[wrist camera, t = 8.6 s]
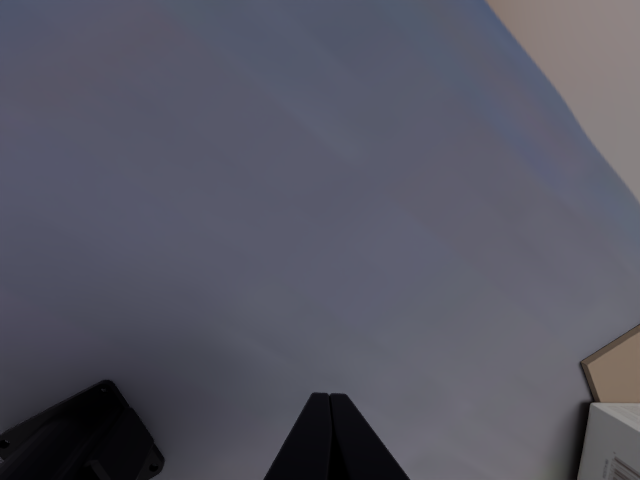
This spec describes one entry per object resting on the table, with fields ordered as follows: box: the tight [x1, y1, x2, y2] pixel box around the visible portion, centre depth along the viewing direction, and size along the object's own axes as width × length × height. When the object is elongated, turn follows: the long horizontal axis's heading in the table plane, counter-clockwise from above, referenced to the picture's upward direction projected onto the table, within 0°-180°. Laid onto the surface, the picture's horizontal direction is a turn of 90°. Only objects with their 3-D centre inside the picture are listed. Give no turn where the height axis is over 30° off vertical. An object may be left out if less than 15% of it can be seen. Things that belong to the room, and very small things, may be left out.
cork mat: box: [581, 325, 640, 403], centre depth 25 cm, size 6×12×1 cm, turn 27°
